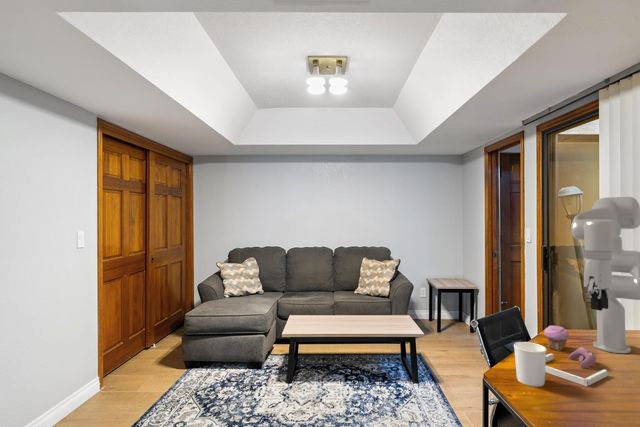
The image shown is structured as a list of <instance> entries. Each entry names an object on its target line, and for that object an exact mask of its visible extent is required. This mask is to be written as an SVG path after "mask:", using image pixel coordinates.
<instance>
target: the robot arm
mask: <svg viewBox="0 0 640 427" xmlns="http://www.w3.org/2000/svg"><path fill="white" fill-rule="evenodd" d="M639 203H640V202H639V201H638V200H637V199H636V198H634V197H632V196H615V197H612V196H611V197H602V198H599V199H597V200H595V202H594V203H593V205H592V208H591V209H589V210H586V211H583V212H580V213H578V214H576V215H575V216H574V218H573V219H572V222H571V227H570V232H571V236H572V237H573V238H574V239H576V240H581V241H582V240H584V243H583V245H584V260H585V262H584V266H583V267H584V268H583V287H584V288H585V289H587V292H588V293H589V298H590V309H591V310H595V311H596V335H597V336H596V339H597V340H595V341H593V342H592V344H593V345H592V346H593V347H594V348H596V349H598V350H601V351H604V352H608V353H615V354H630V353H631V352H632V351H631V350H632V349H631V347H629V346H628V345H627V344H626V343H627V339H628V338H627V337H626V311H625V307H624V306H623V303H621V302H620V301H619V300H618V299H625V300H634V301H640V251H638V250H627V249H626V250H624V249H623V240H622V237H621V236H620V235H621V233H622V230H623V229H624V230H626V229H627V230H631V229H632V230H633V229H637V228H639V227H640V204H639ZM612 273H624V274H631V276H628V275H620V274H617V275H616V274H612Z"/></svg>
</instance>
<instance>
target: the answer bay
mask: <svg viewBox="0 0 640 427" xmlns="http://www.w3.org/2000/svg"><path fill="white" fill-rule="evenodd" d="M552 360H554V354H553V353H548V354H546V363H547V362H550V361H552ZM545 373H547V374H550V375H553V376H557V377H559V378H562V379H565V380H568V381H570V382H573V383H576V384H580V385H582V386H584V387H588V386H591V385H593V384H594V383H596V382H598V381H600V380H602V379H604V378H607V377H608V370H607V369H602V370H599V371H598V372H596V373H595V372H594V373H593V374H591V375H590V376H587V377H586V378H584V377H581V376H578V375H575V374H572V373H569V372H566V371H563V370H561V369H557V368H554V367H550V366H548V365H546V368H545Z"/></svg>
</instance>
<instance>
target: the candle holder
mask: <svg viewBox="0 0 640 427" xmlns="http://www.w3.org/2000/svg"><path fill="white" fill-rule="evenodd" d="M513 349H514V359H515V360H514V361H515V370H516V371H515V372H516V380H517V381H518V382H519V383H521V384H523V385H526V386H529V387H536V388H539V387H544V386H545V383H546V372H545V368H546V366H547V364H546V363H547V362H546V355H547V348H546V347H545V346H543V345H541V344H538V343H534V342H529V341H518V342H517V341H516V342H514V344H513Z"/></svg>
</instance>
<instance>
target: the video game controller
mask: <svg viewBox="0 0 640 427" xmlns="http://www.w3.org/2000/svg"><path fill="white" fill-rule="evenodd" d="M568 359H570V360H572V361H573V360H577V359H578V361H579V367H580V368H581V369H586V368H589V367H591V366H592V365H593V364H595V363H596V361H597V357H596V355H595V354H594V352H593V351H592V350H590V349H588V348H585V347H581V346H580V347H578V348H577V349H576V350H574V351H573V352H571V353H569V355H568Z"/></svg>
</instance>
